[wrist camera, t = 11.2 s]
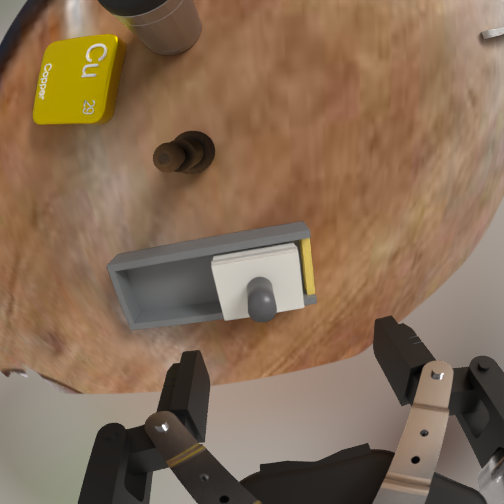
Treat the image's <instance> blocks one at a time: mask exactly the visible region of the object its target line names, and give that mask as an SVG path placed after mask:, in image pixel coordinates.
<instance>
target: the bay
mask: <svg viewBox="0 0 504 504" xmlns="http://www.w3.org/2000/svg"><path fill="white" fill-rule="evenodd" d="M310 238H311V236H310V230H309V228H308V227H307V226H306V224H305V223H304V222H303V221H301V222H295V223H289V224H283V225H277V226H271V227H265V228H259V229H253V230H247V231H242V232H236V233H230V234H224V235H219V236H213V237H208V238H202V239H196V240H191V241H185V242H180V243H175V244H169V245H164V246H159V247H153V248H148V249H143V250H138V251H132V252H127V253H122V254H117V255H116V256H115V257H114V258H113V259H112V260H111V261H110V262H109V264H108V265H107V269H108V272H109V274H110V277H111V280H112V283H113V286H114V288H115V291H116V294H117V297H118V299H119V302H120V304H121V307H122V310H123V312H124V315H125V317H126V319H127V322H128V324H129V327H130V329H131V330H136V329H146V328H156V327H165V326H173V325H182V324H190V323H197V322H205V321H212V320H219V319H224V316H223V312H222V308H221V304H220V300H219V296H218V292H217V288H216V284H215V280H214V276H213V272H212V267H211V265H212V264H211V261H212V260H213V257H214V254H218V253H224V252H230V251H235V250H241V249H247V248H253V247H259V246H265V245H271V244H277V243H283V242H289V241H293V242H294V244H295V246H297V249H298V254H299V263H300V272H301V281H302V290H303V300H304V306H305V305H310V304H315V303H317V300H316V295H315V289H314V278H313V267H312V257H311V247H310Z"/></svg>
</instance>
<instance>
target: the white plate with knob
mask: <svg viewBox="0 0 504 504" xmlns="http://www.w3.org/2000/svg"><path fill="white" fill-rule="evenodd" d="M211 264H212V265H211V267H212V272H213V276H214V280H215V284H216V288H217V292H218V296H219V300H220V304H221V308H222V312H223V316H224V320H225V321H227V320H234V319H240V318H247V317H251V319H253V320H254V321H257V322H267V321H270V320H271V319H273V318H274V316H275V315H276V313H278V312H283V311H289V310H295V309H300V308H304V300H303V290H302V281H301V272H300V263H299V254H298V249H297V246H295V244H294V242H293V241H289V242H283V243H277V244H271V245H265V246H259V247H253V248H247V249H241V250H235V251H230V252H224V253H218V254H214V257H213V260H212V261H211Z"/></svg>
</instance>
